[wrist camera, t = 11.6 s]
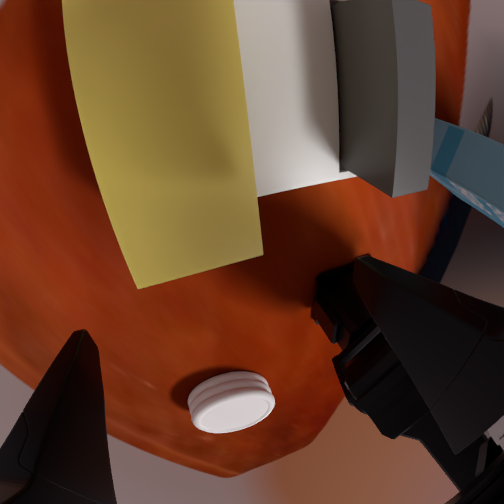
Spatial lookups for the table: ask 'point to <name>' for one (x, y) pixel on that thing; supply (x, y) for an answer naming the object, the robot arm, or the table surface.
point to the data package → (469, 167)
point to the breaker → (386, 91)
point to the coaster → (230, 402)
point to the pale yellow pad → (166, 131)
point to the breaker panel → (290, 92)
